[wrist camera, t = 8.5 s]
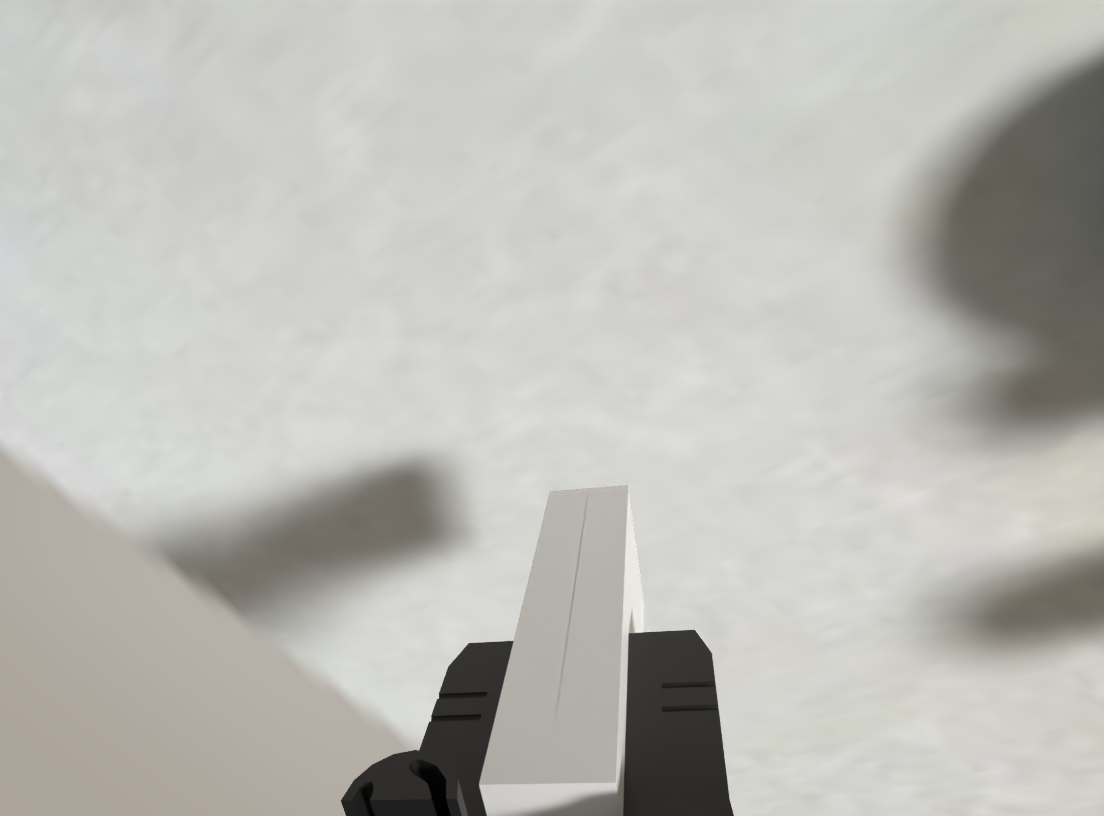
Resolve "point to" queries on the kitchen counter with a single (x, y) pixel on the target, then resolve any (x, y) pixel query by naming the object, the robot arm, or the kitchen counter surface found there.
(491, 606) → the kitchen counter surface
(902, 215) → the kitchen counter surface
